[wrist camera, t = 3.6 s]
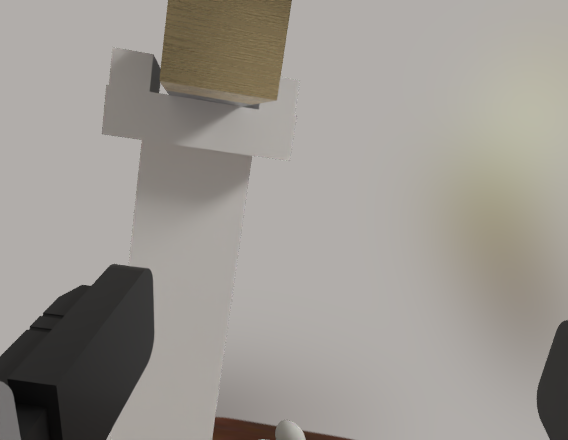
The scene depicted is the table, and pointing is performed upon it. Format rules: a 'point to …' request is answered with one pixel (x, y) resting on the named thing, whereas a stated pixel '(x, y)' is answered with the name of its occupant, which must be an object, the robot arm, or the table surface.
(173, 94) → the bar
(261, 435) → the table surface
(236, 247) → the stand
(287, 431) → the pacifier
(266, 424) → the table surface
